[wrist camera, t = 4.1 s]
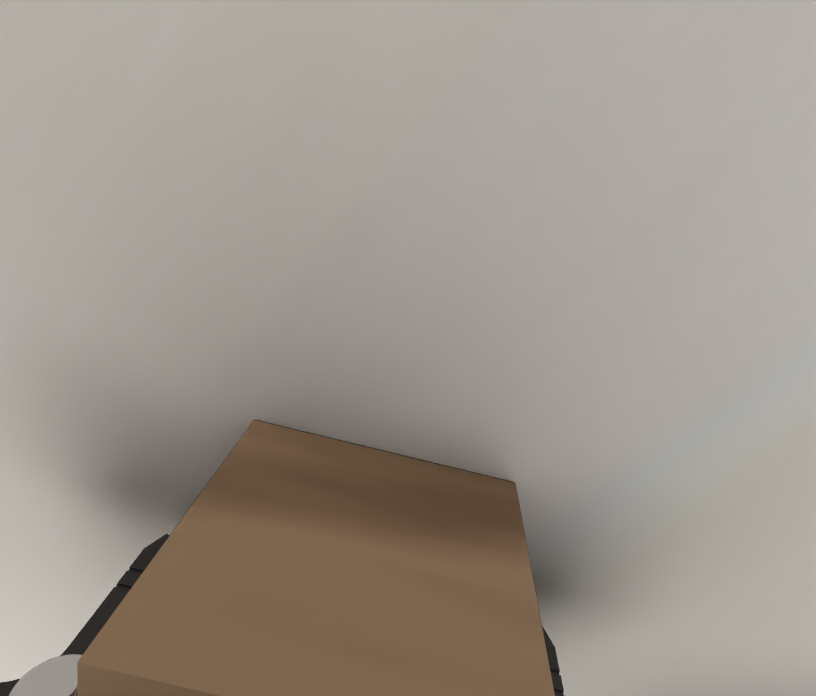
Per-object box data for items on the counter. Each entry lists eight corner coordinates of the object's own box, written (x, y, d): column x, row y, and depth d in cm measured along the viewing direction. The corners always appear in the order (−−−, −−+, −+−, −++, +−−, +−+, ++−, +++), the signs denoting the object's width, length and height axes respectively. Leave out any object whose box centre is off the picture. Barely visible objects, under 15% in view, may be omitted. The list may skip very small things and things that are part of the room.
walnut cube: (254, 420, 12) (77, 661, 6) (515, 482, 12) (570, 779, 6) (227, 615, 14) (77, 925, 8) (448, 668, 14) (445, 1011, 8)
